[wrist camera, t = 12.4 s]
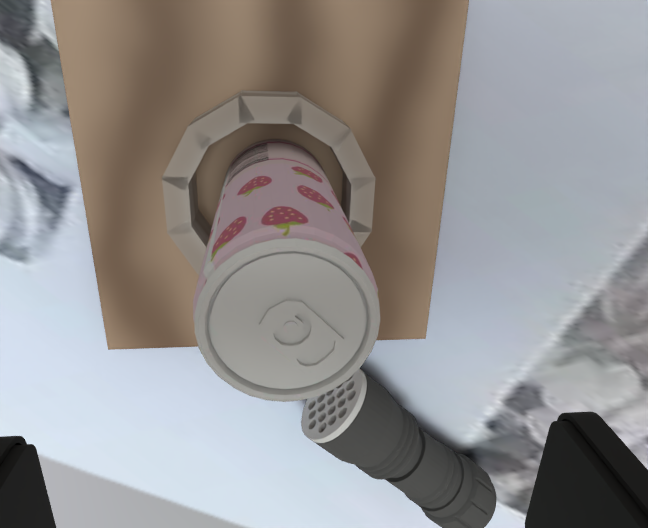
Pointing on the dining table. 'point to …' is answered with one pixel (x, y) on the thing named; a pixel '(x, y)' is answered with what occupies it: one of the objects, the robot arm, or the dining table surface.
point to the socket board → (256, 136)
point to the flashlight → (399, 452)
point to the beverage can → (283, 280)
